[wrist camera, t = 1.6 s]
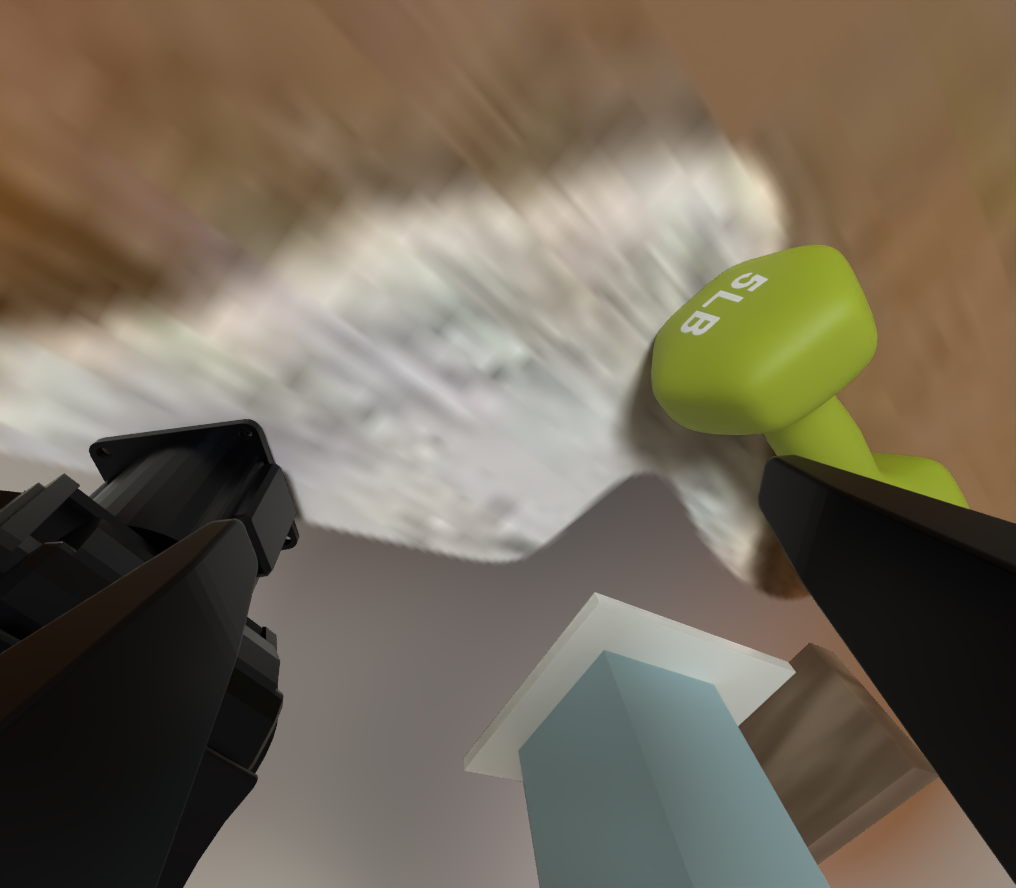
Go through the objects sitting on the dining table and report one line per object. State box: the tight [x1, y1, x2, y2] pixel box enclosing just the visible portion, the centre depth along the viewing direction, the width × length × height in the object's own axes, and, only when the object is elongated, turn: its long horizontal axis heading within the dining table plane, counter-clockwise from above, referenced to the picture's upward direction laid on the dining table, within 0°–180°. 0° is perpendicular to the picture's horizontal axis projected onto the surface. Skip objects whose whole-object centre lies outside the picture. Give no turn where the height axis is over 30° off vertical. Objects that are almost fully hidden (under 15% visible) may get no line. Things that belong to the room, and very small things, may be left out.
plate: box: [463, 592, 796, 782], centre depth 33 cm, size 16×16×1 cm
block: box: [518, 650, 830, 888], centre depth 26 cm, size 9×10×13 cm
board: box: [738, 643, 939, 865], centre depth 33 cm, size 2×20×8 cm, turn 150°
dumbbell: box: [651, 245, 970, 509], centre depth 21 cm, size 16×8×7 cm, turn 42°
